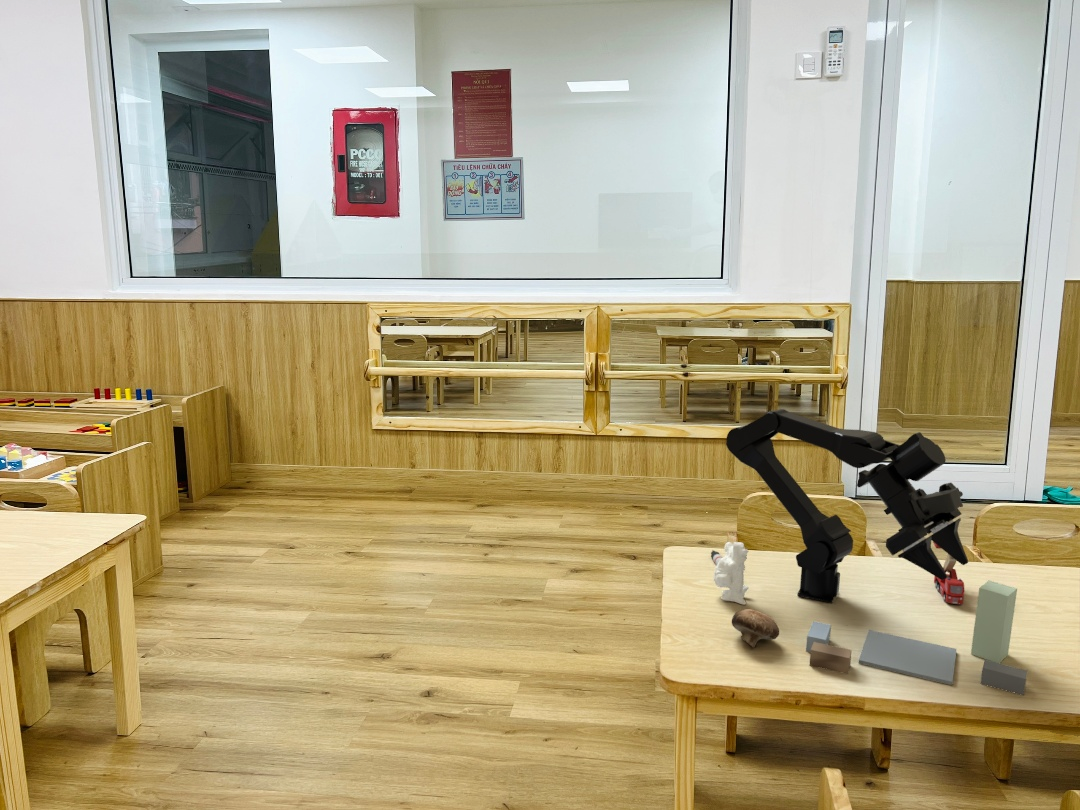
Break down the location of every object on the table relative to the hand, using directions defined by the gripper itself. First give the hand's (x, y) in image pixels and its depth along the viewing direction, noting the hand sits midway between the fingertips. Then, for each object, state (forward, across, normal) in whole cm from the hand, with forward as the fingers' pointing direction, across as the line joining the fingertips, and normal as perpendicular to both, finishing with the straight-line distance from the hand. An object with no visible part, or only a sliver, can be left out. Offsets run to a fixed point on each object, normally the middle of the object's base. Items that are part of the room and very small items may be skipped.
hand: (955, 571), depth 146 cm
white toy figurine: (-16, -14, +34) cm, 40 cm away
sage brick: (+14, 0, +4) cm, 15 cm away
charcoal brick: (+18, -9, +1) cm, 20 cm away
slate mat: (+8, -11, +10) cm, 17 cm away
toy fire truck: (+3, +20, +15) cm, 26 cm away
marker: (-22, -3, +41) cm, 47 cm away
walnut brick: (+2, -23, +16) cm, 28 cm away
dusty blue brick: (-1, -18, +19) cm, 27 cm away
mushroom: (-7, -25, +25) cm, 37 cm away
